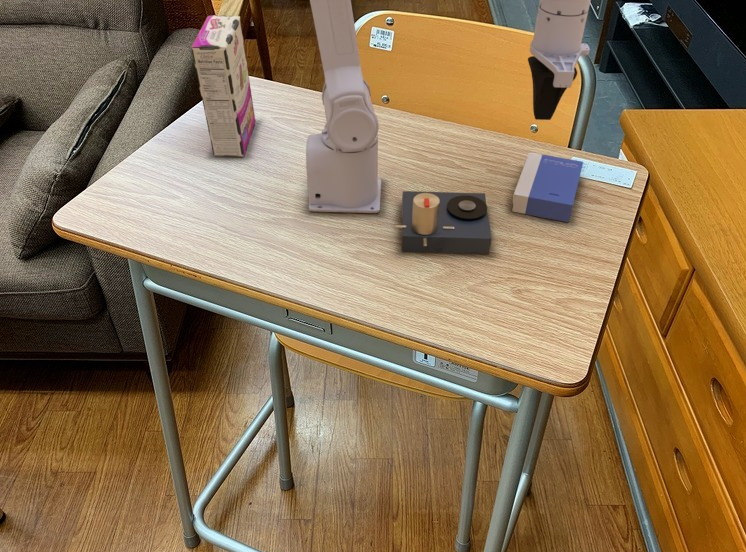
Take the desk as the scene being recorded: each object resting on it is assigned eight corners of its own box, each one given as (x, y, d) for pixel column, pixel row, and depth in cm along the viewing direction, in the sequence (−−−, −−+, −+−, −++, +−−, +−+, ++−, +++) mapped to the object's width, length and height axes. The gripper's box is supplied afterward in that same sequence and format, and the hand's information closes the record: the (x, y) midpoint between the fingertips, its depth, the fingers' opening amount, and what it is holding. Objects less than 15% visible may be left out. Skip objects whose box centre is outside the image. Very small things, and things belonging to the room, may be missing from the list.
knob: (411, 219, 83) (412, 190, 80) (436, 220, 83) (439, 190, 80) (412, 235, 81) (413, 205, 78) (438, 235, 81) (440, 205, 78)
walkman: (568, 223, 88) (579, 177, 96) (572, 205, 86) (583, 160, 94) (509, 211, 89) (525, 167, 97) (513, 193, 87) (528, 150, 95)
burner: (447, 220, 83) (447, 216, 83) (445, 197, 87) (446, 193, 87) (488, 222, 83) (489, 217, 83) (485, 198, 87) (485, 194, 87)
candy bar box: (225, 121, 106) (206, 14, 94) (256, 122, 106) (241, 14, 94) (211, 157, 98) (189, 45, 86) (244, 158, 98) (227, 46, 86)
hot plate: (393, 261, 81) (394, 244, 80) (395, 206, 90) (395, 189, 88) (490, 264, 81) (493, 246, 80) (482, 208, 90) (485, 192, 88)
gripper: (611, 32, 72) (583, 146, 81) (586, -13, 82) (563, 93, 92) (546, 30, 72) (525, 144, 81) (529, -15, 82) (512, 91, 92)
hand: (542, 117), depth 87 cm, fingers closed
